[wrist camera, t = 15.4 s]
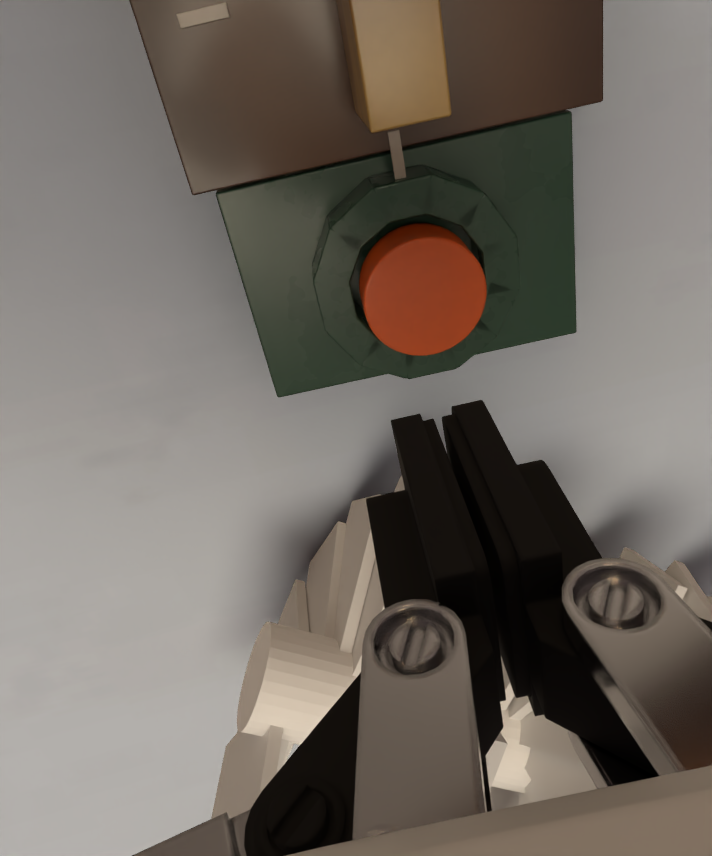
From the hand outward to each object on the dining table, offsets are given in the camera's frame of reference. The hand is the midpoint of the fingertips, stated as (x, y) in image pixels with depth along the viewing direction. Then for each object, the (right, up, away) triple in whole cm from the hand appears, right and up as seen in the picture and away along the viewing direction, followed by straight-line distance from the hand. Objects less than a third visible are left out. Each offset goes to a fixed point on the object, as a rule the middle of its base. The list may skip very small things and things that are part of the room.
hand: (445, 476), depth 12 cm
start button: (0, +6, +10) cm, 12 cm away
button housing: (0, +7, +13) cm, 15 cm away
